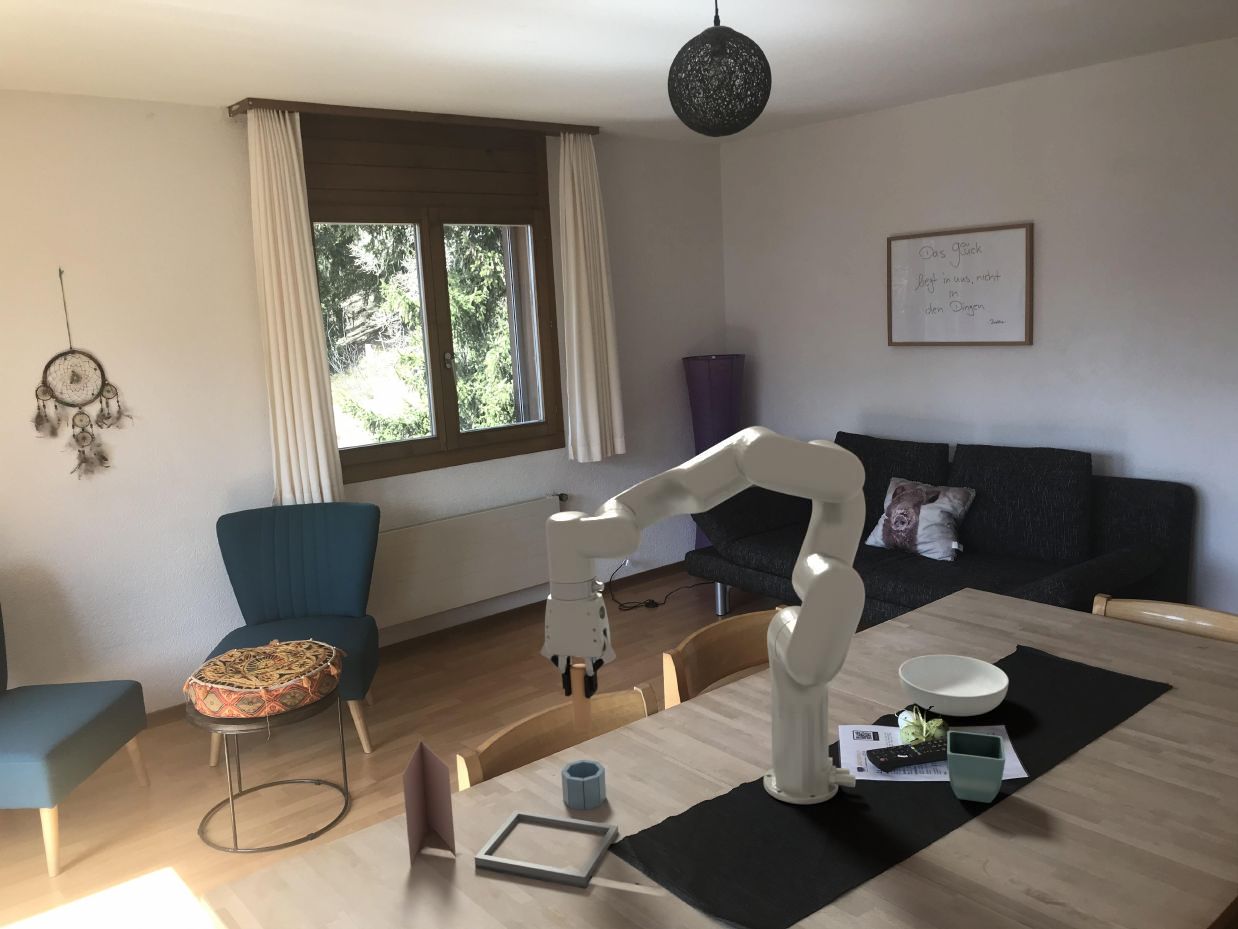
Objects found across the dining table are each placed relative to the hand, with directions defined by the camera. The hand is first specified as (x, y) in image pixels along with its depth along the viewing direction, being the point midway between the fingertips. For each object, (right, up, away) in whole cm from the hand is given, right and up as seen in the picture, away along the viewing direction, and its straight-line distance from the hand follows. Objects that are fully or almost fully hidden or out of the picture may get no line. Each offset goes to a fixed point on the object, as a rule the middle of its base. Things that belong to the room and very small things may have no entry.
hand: (580, 693), depth 157 cm
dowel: (0, -6, +1) cm, 6 cm away
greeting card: (-22, -23, -7) cm, 33 cm away
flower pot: (+66, -17, +1) cm, 68 cm away
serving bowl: (+74, -11, +34) cm, 82 cm away
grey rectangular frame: (-5, -22, -10) cm, 25 cm away
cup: (+1, -19, +3) cm, 20 cm away
